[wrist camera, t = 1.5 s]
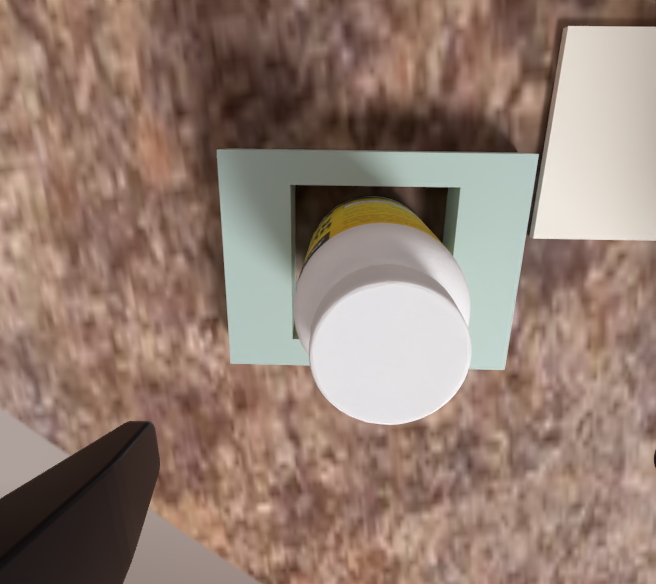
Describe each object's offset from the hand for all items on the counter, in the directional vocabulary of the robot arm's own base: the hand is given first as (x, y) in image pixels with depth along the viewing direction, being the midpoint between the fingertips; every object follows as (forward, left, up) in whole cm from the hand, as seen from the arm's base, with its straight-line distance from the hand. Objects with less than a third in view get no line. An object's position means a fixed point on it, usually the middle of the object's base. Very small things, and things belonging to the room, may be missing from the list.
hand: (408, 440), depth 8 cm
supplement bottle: (0, 0, -13) cm, 13 cm away
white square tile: (-11, -5, -13) cm, 18 cm away
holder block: (0, 0, -13) cm, 13 cm away
